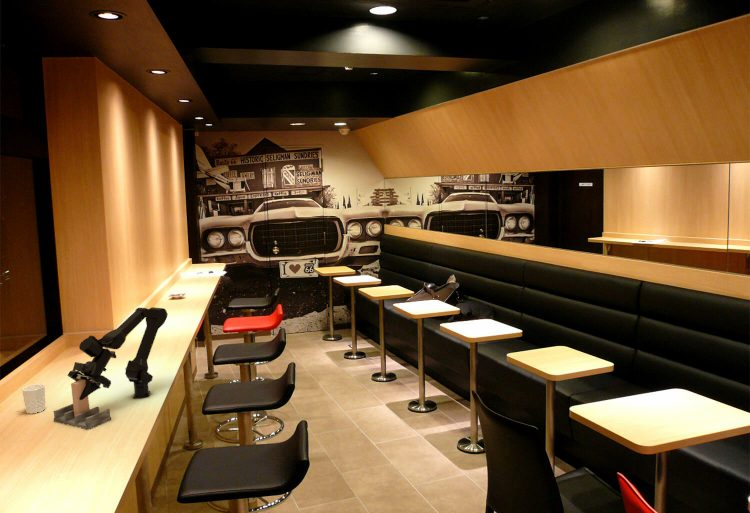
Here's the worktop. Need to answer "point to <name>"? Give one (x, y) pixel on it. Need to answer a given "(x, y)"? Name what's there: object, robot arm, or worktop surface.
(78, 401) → the clay bar
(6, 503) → the worktop surface
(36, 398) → the white cup
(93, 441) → the worktop surface
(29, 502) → the worktop surface
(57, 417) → the rack
